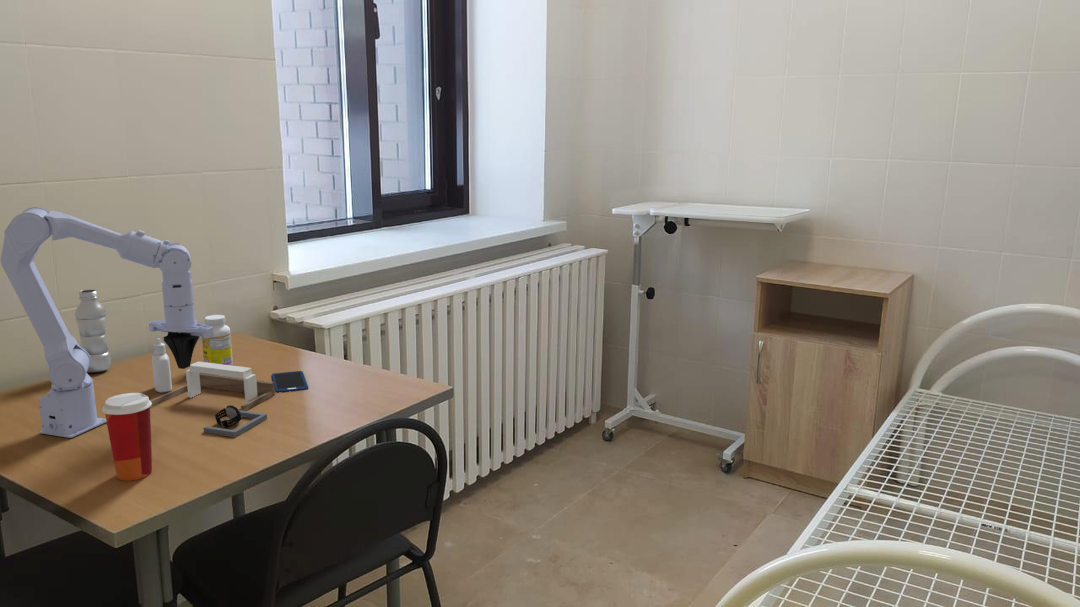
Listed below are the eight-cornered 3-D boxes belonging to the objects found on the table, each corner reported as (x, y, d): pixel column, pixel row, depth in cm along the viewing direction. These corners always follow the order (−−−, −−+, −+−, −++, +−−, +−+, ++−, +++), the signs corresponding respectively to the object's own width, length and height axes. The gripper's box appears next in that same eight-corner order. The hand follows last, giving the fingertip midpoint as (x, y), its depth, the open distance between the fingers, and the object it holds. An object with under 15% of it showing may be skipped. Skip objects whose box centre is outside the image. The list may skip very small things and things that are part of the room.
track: (212, 428, 165) (211, 414, 165) (128, 415, 171) (127, 402, 171) (274, 395, 185) (273, 382, 184) (197, 384, 191) (196, 372, 190)
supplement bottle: (205, 363, 206) (201, 314, 203) (233, 361, 208) (230, 312, 205) (203, 371, 200) (199, 321, 197) (232, 369, 202) (228, 319, 199)
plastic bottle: (82, 369, 201) (72, 289, 196) (113, 366, 203) (104, 287, 199) (80, 376, 195) (70, 295, 190) (111, 373, 198) (103, 292, 193)
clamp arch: (249, 405, 178) (247, 372, 176) (188, 397, 183) (185, 364, 181) (257, 401, 181) (255, 368, 179) (197, 392, 185) (194, 360, 184)
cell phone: (275, 394, 186) (275, 391, 186) (271, 376, 199) (271, 373, 199) (309, 391, 189) (308, 388, 189) (302, 373, 202) (302, 370, 201)
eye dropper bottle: (177, 384, 191) (172, 335, 188) (169, 392, 185) (164, 342, 182) (157, 385, 190) (152, 335, 187) (149, 393, 185) (144, 342, 182)
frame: (235, 437, 161) (234, 432, 161) (203, 432, 163) (203, 427, 163) (267, 418, 171) (266, 414, 171) (237, 414, 173) (236, 409, 173)
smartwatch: (224, 423, 171) (245, 423, 170) (209, 428, 166) (231, 429, 165) (223, 403, 170) (245, 404, 169) (208, 408, 165) (231, 409, 164)
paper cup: (145, 461, 150) (138, 388, 147) (166, 473, 145) (159, 398, 142) (101, 475, 144) (92, 400, 141) (121, 488, 139) (112, 410, 136)
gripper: (221, 302, 169) (226, 365, 172) (164, 296, 173) (169, 358, 176) (197, 310, 162) (203, 375, 166) (139, 303, 167) (145, 367, 170)
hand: (184, 367), depth 171 cm, fingers closed
